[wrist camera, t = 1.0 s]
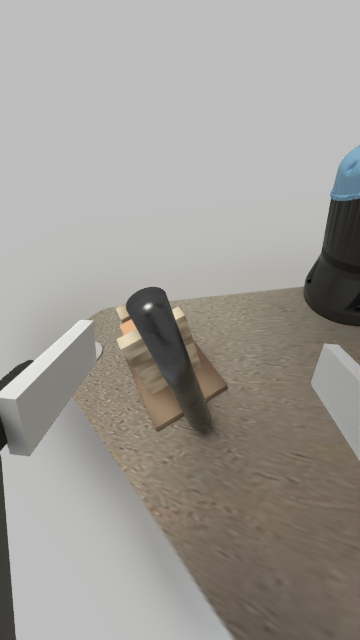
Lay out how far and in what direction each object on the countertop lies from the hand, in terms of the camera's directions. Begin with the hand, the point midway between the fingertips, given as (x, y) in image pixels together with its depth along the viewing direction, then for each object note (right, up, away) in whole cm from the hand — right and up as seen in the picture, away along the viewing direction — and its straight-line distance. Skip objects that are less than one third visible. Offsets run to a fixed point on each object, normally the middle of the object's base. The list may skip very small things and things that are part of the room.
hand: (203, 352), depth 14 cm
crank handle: (-2, -7, +23) cm, 24 cm away
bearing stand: (-2, -7, +27) cm, 28 cm away
